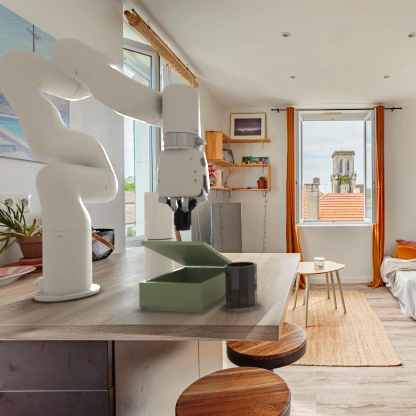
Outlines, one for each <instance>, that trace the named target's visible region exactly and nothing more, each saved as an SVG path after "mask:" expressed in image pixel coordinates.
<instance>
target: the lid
mask: <svg viewBox="0 0 416 416" xmlns="http://www.w3.org/2000/svg"><path fill="white" fill-rule="evenodd" d="M140 245H141V246H143V247H144V248H145V247H147V248H149V249H151V250H153V251H155V252H157V253H159V254H161V255H163V256H165V257H167V258H169V259H171V260H173V261H174V263H175V262H176V263H177V264H180V265H181V266H182V267H225V265H226V264H228V263H233V261H232V260H230V259H229V258H227V256H225V255H223V254H222V253H221V252H219V250H216V248H214V247H212V246H211V245H210V244H209V243H207V242H205V241H204V240H203V241H202V240H201V241H199V240H197V241H193V240H192V241H190V240H174V241H145V240H141V242H140Z"/></svg>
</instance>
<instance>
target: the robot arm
mask: <svg viewBox="0 0 416 416" xmlns="http://www.w3.org/2000/svg"><path fill="white" fill-rule="evenodd" d="M50 56H51V58H50V57H47V56H45V55H42V54H40V53H37V52H34V51H31V50H27V49H22V48H10V49H8V50H5V51H4V52H3V53H2V55H1V56H0V90H1V92H2V95H3V96H4V98H5V100H6V102H7V103H8V105H9V106H10V108H11V110H12V111H13V113H14V114H15V116H16V118H17V121H18V124H19V126H20V128H21V132H22V133H23V136H24V138H25V141H26V143H27V146H28V148H29V150H30V152H31V154H32V156H33V157H34V158H35V159H36V160H37V161H39V162H41V163H43V164H47V165H45V166H43V167H41V168H40V169H39V171H38V172H37V174H36V177H35V187H36V192H37V196H38V200H39V204H40V211H41V231H42V232H41V233H42V235H41V236H42V239H41V240H42V243H41V244H42V276H38V278H37V279H36V280H33V281H32V282H31V286H32V287H39V291H37V292H35V293H34V294H33V299H34V301H37V302H41V303H42V302H43V303H44V302H45V303H50V302H51V303H52V302H64V301H70V300H71V301H72V300H76V299H81V298H86V297H89V296H93V295H95V294H97V293H99V292H100V289H101V287H100V285H98V284H94V283H93V244H92V243H93V241H92V239H93V237H92V236H93V234H92V233H93V232H92V231H93V230H92V228H93V227H92V219H91V215H90V214H89V212H88V210H87V208H86V207H85V205H84V204H107V203H109V202H111V201H113V200H114V199H115V198H116V196H117V195H118V192H119V183H118V179H117V176H116V173H115V170H114V168H113V166H112V163H111V162H110V160H109V157H108V155H107V152H106V150H105V148H104V146H103V144H102V143H101V142H100V141H99V139H98V138H96V137H95V136H93V134H90V133H86V132H83V131H78V130H74V129H71V128H70V127H68V126H67V125H66V123H65V122H64V120H63V118H62V116H61V112H60V111H59V109H58V108H57V106H56V105H55V104H54V103H53V102H52V101H51V100H50V99H49V98H48V97H47V96H46V95H45V94H48V95H51V96H55V97H58V98H60V99H64V100H68V101H80V100H83V99H87V98H89V97H93V99H95V100H97V101H98V102H100V103H101V104H103V105H104V106H106V107H107V108H109V109H110V110H112V111H113V112H115V113H117V114H119V115H121V116H123V117H126V118H129V119H132V120H135V121H138V122H141V123H144V124H147V125H149V126H153V127H156V128H162V150H160V151H159V155H158V160H157V167H156V169H157V170H156V192H157V193H158V195H159V199H158V201H159V202H160V203H163V204H168V205H169V206H170V207H171V209H172V211H173V212H174V227H175V231H176V232H185V231H186V232H187V231H191V228H192V222H193V221H192V219H193V217H192V212H194V210H195V208H196V207H197V206H198V205H201V204H204V203H207V202H208V196H209V194H210V176H209V175H210V174H209V167H208V162H207V157H206V153H205V151H204V150H202V146H204V145H205V146H206V145H207V140H206V138H202V137H201V97H200V93H199V91H198V90H197V88H195V87H194V86H192V85H189V84H184V83H169V84H166V85H165V86H164V87H163V88H162V91H159V90H156V89H154V88H152V87H150V86H149V85H146V84H144V83H142V82H139V81H137V80H135V79H133V78H131V77H129V76H128V75H126V74H125V71H124V70H123V68H122V66H121V65H120V64H119V63H118V62H116V61H115V60H114V58H113V57H111V56H109V54H106V53H105V52H102V51H100V50H98V49H96V48H94V47H93V46H91V45H89V44H86V43H85V42H83V41H80V40H78V39H75V38H68V37H64V38H59V39H57V40H55V41H54V42H53V43H52V45H51V46H50ZM168 197H170V199H169V198H168Z"/></svg>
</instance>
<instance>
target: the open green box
mask: <svg viewBox="0 0 416 416" xmlns="http://www.w3.org/2000/svg"><path fill="white" fill-rule="evenodd" d="M138 293H139V295H138V297H139V298H138V302H139V303H138V304H139V305H138V306H139V308H151V309H173V310H175V309H176V310H198V311H199V310H202V311H203V310H205V308H207V307H209V306H211V305H212V304H214V303H215V302H216V301H218V300H220V299H221V298H222V297H225V267H199V266H182V267H180V268H177V269H174V271H171V272H168V273H165V274H162V275H159V276H156V277H153V278H150V279H148V280H145V279H144V280H142V281H139V282H138Z"/></svg>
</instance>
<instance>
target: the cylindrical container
mask: <svg viewBox="0 0 416 416" xmlns="http://www.w3.org/2000/svg"><path fill="white" fill-rule="evenodd" d="M143 195H144V196H143V197H144V199H143V201H144V208H143V209H144V211H143V213H144V215H143V216H144V217H143V218H144V241H175V238H174V237H175V228H174V227H175V212H173V211H172V209H171V207H170V206H169V205H168V204H163V203H160V202H159V201H158V199H159V195H158V193H157V191H145V192H144V194H143ZM168 198H169V199H170V197H168ZM174 270H175V261H173V260H171V259H169V258H167V257H165V256H163V255H161V254H159V253H157V252H155V251H153V250H151V249H149V248H147V247H145V246H144V281H145V280H148V279H150V278H153V277H156V276H159V275H162V274H165V273H168V272H171V271H174Z"/></svg>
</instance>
